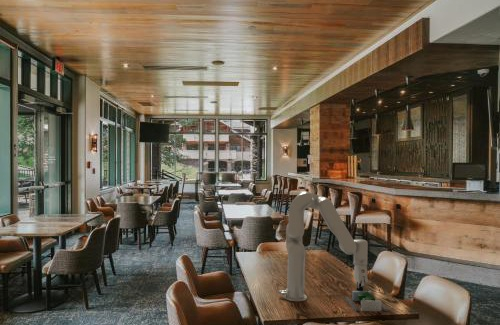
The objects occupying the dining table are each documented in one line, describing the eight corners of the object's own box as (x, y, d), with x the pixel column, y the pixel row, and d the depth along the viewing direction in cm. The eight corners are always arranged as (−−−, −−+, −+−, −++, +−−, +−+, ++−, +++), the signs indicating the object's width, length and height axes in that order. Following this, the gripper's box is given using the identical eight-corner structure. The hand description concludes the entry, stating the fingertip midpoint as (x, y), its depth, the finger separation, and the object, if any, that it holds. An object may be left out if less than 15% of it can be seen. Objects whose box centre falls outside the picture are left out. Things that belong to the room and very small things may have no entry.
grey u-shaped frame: (355, 311, 210) (356, 301, 210) (344, 299, 230) (345, 290, 230) (387, 311, 211) (387, 301, 211) (374, 299, 231) (374, 290, 231)
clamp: (362, 311, 223) (356, 294, 227) (372, 309, 223) (367, 292, 227) (366, 310, 212) (361, 292, 216) (378, 307, 212) (372, 289, 216)
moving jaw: (353, 301, 226) (353, 292, 226) (352, 299, 228) (352, 290, 228) (371, 301, 226) (371, 292, 226) (369, 300, 228) (370, 291, 228)
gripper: (371, 265, 223) (371, 299, 223) (362, 258, 238) (362, 290, 238) (358, 264, 223) (357, 298, 222) (349, 258, 238) (349, 290, 237)
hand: (359, 294), depth 230 cm, fingers closed
